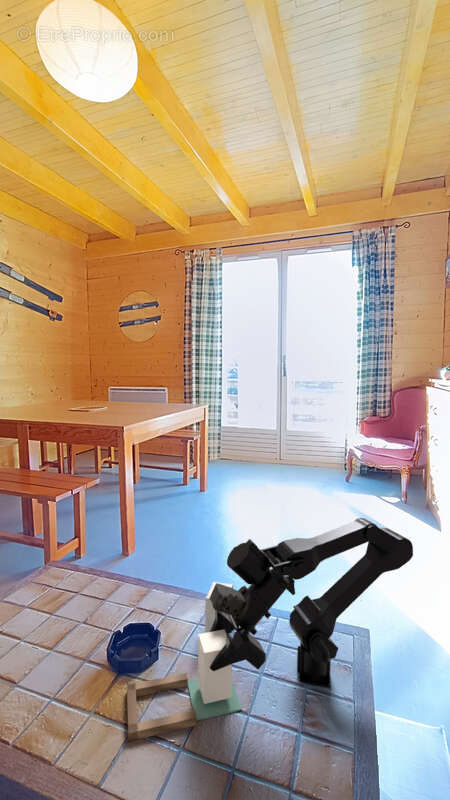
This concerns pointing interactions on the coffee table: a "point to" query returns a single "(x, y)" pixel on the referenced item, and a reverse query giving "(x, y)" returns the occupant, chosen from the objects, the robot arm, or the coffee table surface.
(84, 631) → the coffee table surface
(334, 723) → the coffee table surface
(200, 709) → the green mat
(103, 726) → the coffee table surface
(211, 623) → the small box
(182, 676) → the brown wooden frame
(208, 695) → the cream block
